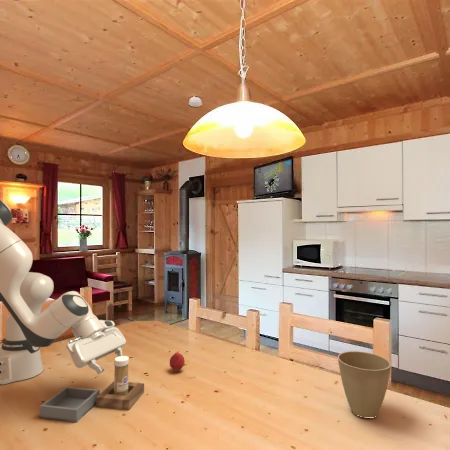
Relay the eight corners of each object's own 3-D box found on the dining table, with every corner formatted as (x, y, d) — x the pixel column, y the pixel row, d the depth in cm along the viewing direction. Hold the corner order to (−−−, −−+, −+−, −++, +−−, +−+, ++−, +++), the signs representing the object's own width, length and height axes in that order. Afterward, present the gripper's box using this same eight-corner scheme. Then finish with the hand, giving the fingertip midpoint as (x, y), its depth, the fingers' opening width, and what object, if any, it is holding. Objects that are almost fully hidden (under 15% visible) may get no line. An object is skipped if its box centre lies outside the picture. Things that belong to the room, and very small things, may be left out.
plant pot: (399, 413, 98) (398, 360, 99) (377, 433, 88) (377, 375, 89) (352, 394, 109) (352, 347, 110) (328, 410, 100) (328, 358, 100)
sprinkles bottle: (122, 404, 103) (122, 361, 103) (110, 401, 105) (111, 359, 105) (131, 397, 107) (131, 356, 107) (120, 394, 109) (120, 354, 109)
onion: (181, 375, 123) (181, 354, 123) (167, 374, 124) (167, 353, 124) (186, 369, 129) (186, 348, 129) (172, 367, 130) (172, 347, 130)
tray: (39, 418, 95) (39, 406, 95) (66, 397, 107) (66, 386, 107) (76, 422, 93) (76, 410, 93) (99, 400, 105) (99, 389, 105)
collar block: (96, 406, 101) (96, 397, 101) (114, 389, 112) (114, 380, 112) (129, 410, 99) (129, 400, 100) (144, 392, 110) (144, 383, 110)
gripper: (69, 336, 100) (92, 373, 96) (116, 319, 119) (137, 350, 115) (59, 348, 102) (81, 386, 98) (106, 330, 121) (127, 361, 117)
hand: (112, 366), depth 106 cm, fingers open, 8 cm apart
